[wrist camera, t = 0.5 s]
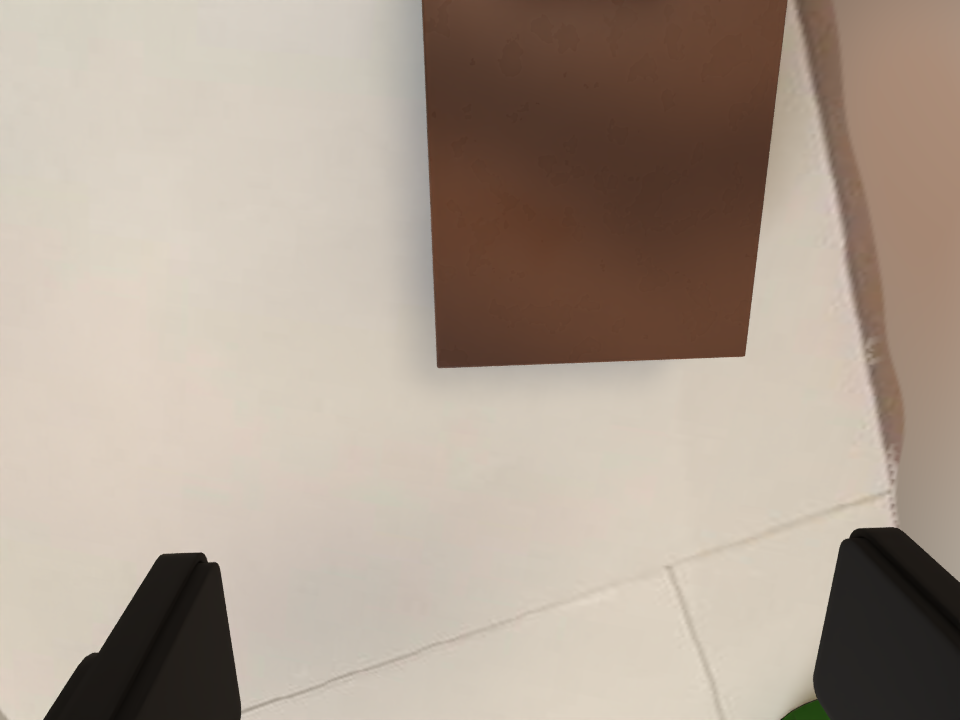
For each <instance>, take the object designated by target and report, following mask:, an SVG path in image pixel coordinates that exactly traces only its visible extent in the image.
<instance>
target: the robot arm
mask: <svg viewBox="0 0 960 720" xmlns="http://www.w3.org/2000/svg"><path fill="white" fill-rule="evenodd" d="M813 684H814V690H815V693H816V696H817V699H818V701H819V703H820V704H821V706H822V707H823V709H824V711H825V712H826V714H827V715H828V717H829V718H830V720H960V582H958V581H957V580H956V579H955V578H954V577H953V576H952V575H951V574H950V573H949V572H947V571H946V570H945V569H944V568H943V567H942V566H941V565H940V564H938V563H937V562H936V561H935V560H934V559H933V558H932V557H931V556H930V555H929V554H927V553H926V552H925V551H924V550H923V549H922V548H921V547H920V546H919V545H917V544H916V543H915V542H914V541H913V540H912V539H911V538H910V537H909V536H907V535H906V534H905V533H904V532H903V531H901V530H900V529H898V528H894V527H886V528H859V529H856V530H854V531H853V532H852V533H851V535H850V538H849V539H845V540H843V542H842V543H841V545H840V548H839V553H838V558H837V563H836V568H835V573H834V577H833V582H832V587H831V592H830V597H829V602H828V607H827V611H826V616H825V621H824V626H823V631H822V636H821V640H820V645H819V650H818V655H817V660H816V665H815V670H814V675H813ZM240 719H241V701H240V695H239V688H238V682H237V675H236V669H235V662H234V656H233V650H232V643H231V637H230V630H229V624H228V617H227V611H226V604H225V598H224V591H223V585H222V578H221V572H220V567H219V565H218V563H216V562H207V558H206V556H205V554H203V553H174V554H162V555H160V556H159V557H158V559H157V560H156V561H155V563H154V565H153V566H152V568H151V569H150V571H149V573H148V574H147V576H146V577H145V579H144V581H143V582H142V584H141V585H140V587H139V589H138V590H137V592H136V593H135V595H134V597H133V598H132V600H131V601H130V603H129V605H128V606H127V608H126V609H125V611H124V613H123V614H122V616H121V618H120V619H119V621H118V622H117V624H116V626H115V627H114V629H113V630H112V632H111V634H110V635H109V637H108V638H107V640H106V642H105V643H104V645H103V646H102V648H101V650H100V651H99V653H92V654H90V655H88V656H86V657H85V658H84V659H83V661H82V662H81V663H80V664H79V665H78V667H77V668H76V670H75V671H74V673H73V674H72V676H71V677H70V679H69V681H68V682H67V684H66V685H65V687H64V688H63V690H62V691H61V693H60V695H59V696H58V698H57V699H56V701H55V702H54V704H53V705H52V707H51V708H50V710H49V712H48V713H47V715H46V716H45V718H44V719H43V720H240Z"/></svg>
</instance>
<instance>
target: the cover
mask: <svg viewBox="0 0 960 720" xmlns="http://www.w3.org/2000/svg"><path fill="white" fill-rule="evenodd" d="M786 8H787V0H422V17H423V41H424V65H425V89H426V113H427V136H428V160H429V184H430V208H431V232H432V255H433V279H434V303H435V327H436V351H437V367H438V368H456V367H482V366H508V365H535V364H561V363H587V362H613V361H640V360H666V359H692V358H718V357H743V356H745V352H746V343H747V335H748V327H749V318H750V310H751V302H752V293H753V285H754V276H755V268H756V260H757V251H758V243H759V234H760V226H761V218H762V209H763V201H764V192H765V184H766V176H767V167H768V159H769V151H770V142H771V134H772V125H773V117H774V109H775V100H776V92H777V83H778V75H779V67H780V58H781V50H782V42H783V33H784V25H785V16H786Z"/></svg>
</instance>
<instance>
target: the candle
mask: <svg viewBox="0 0 960 720" xmlns="http://www.w3.org/2000/svg"><path fill="white" fill-rule="evenodd" d="M782 720H830V718H829V717H828V715H827V714H826V712H825V711H824V709H823V707H822V706H821V704H820V703H819V701H818V700H815V701H812V702H810V703H807V704H805V705H803V706H801V707H799V708H797V709H796V710H794V711H792V712H791V713H789V714H788V715H787V716H785V717H784V718H783V719H782Z"/></svg>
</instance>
